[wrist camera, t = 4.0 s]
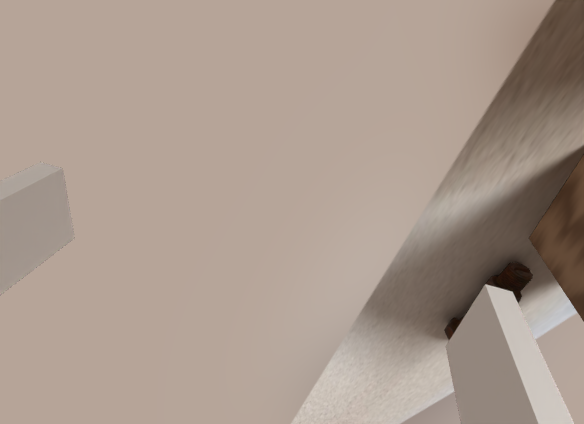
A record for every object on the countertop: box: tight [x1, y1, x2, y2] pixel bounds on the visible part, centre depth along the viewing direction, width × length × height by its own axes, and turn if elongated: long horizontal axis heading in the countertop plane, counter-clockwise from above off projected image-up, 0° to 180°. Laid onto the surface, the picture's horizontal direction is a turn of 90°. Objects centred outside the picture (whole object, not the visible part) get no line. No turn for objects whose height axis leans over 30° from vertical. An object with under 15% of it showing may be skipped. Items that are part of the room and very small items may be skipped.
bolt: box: [445, 263, 533, 340], centre depth 52 cm, size 6×5×15 cm
